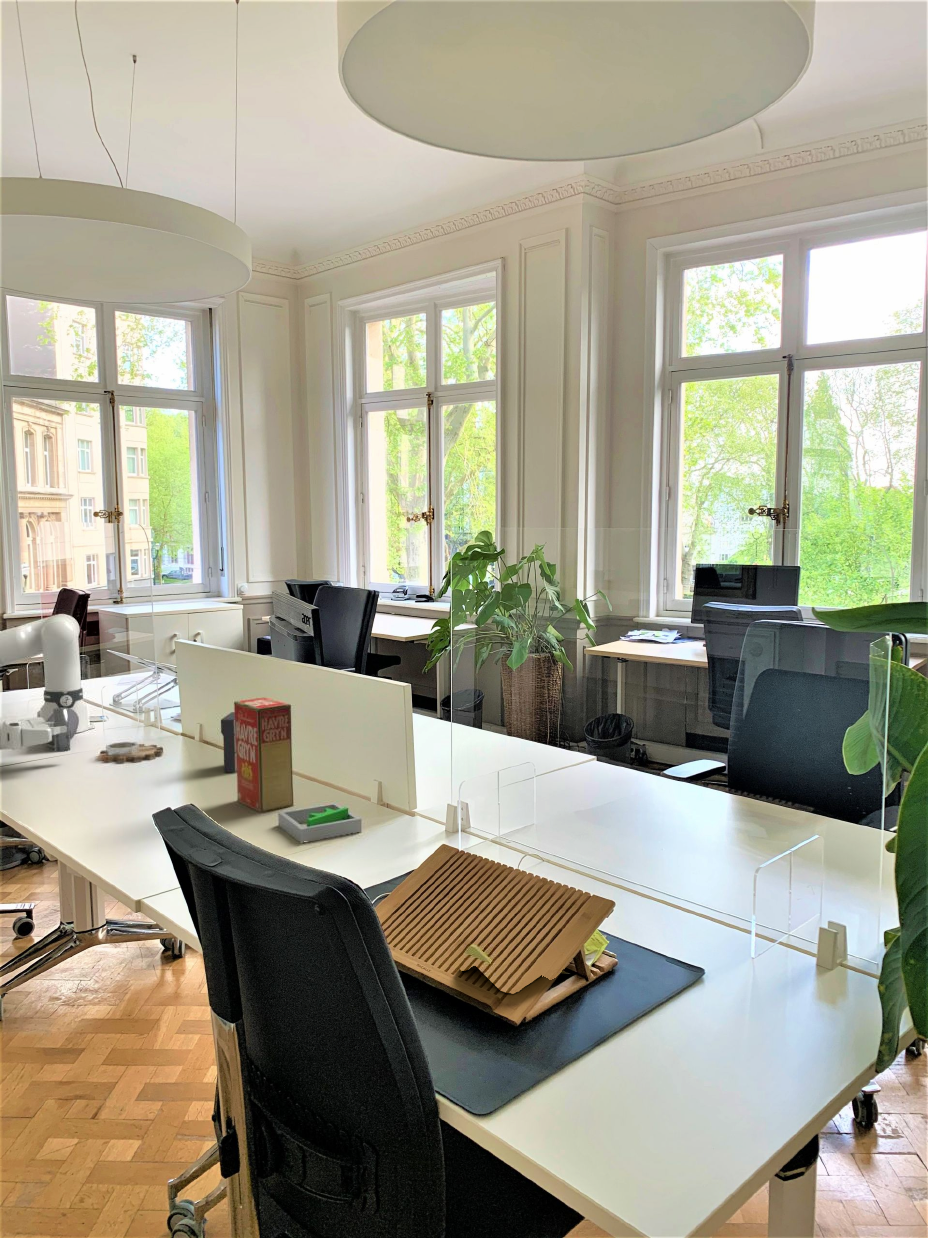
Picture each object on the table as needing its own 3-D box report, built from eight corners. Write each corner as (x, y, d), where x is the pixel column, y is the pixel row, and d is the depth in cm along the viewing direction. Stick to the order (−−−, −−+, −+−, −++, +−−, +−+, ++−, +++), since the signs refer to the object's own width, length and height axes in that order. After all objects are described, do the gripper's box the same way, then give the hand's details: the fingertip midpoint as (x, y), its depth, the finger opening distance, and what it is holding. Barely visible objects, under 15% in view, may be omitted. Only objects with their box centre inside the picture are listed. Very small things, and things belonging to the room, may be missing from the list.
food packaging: (234, 800, 220) (232, 700, 218) (269, 793, 227) (267, 696, 224) (260, 813, 210) (257, 708, 208) (295, 805, 216) (293, 703, 214)
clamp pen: (278, 825, 202) (278, 812, 201) (336, 815, 209) (336, 802, 209) (301, 843, 190) (301, 829, 189) (361, 832, 197) (361, 818, 197)
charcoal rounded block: (237, 773, 246) (236, 719, 245) (221, 773, 247) (220, 719, 245) (247, 763, 257) (246, 711, 256) (232, 763, 257) (231, 711, 256)
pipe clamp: (337, 824, 203) (337, 805, 202) (348, 828, 200) (348, 808, 200) (298, 837, 194) (298, 816, 194) (310, 840, 192) (310, 819, 191)
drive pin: (54, 749, 256) (52, 708, 255) (69, 748, 258) (67, 707, 257) (56, 752, 253) (54, 710, 252) (71, 750, 255) (69, 709, 254)
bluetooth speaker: (50, 737, 291) (49, 707, 291) (81, 735, 294) (80, 705, 293) (39, 753, 270) (38, 720, 269) (73, 751, 273) (71, 718, 272)
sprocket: (94, 753, 269) (94, 742, 269) (155, 746, 278) (155, 735, 278) (105, 766, 254) (104, 754, 254) (169, 758, 263) (169, 746, 263)
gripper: (8, 736, 257) (60, 731, 265) (15, 751, 240) (70, 744, 247) (7, 715, 257) (59, 710, 264) (14, 728, 239) (69, 722, 247)
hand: (65, 727), depth 256 cm, fingers closed on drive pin, 4 cm apart
